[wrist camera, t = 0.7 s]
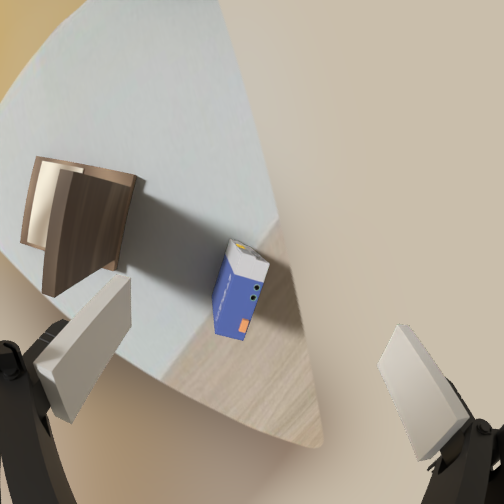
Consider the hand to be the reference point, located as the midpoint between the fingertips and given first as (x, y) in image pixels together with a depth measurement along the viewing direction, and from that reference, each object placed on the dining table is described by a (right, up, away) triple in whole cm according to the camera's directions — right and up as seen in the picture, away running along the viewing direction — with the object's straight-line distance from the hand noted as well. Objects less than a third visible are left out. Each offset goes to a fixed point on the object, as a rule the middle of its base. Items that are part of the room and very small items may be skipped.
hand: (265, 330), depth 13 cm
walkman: (-3, +1, +24) cm, 24 cm away
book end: (-24, +9, +19) cm, 32 cm away
